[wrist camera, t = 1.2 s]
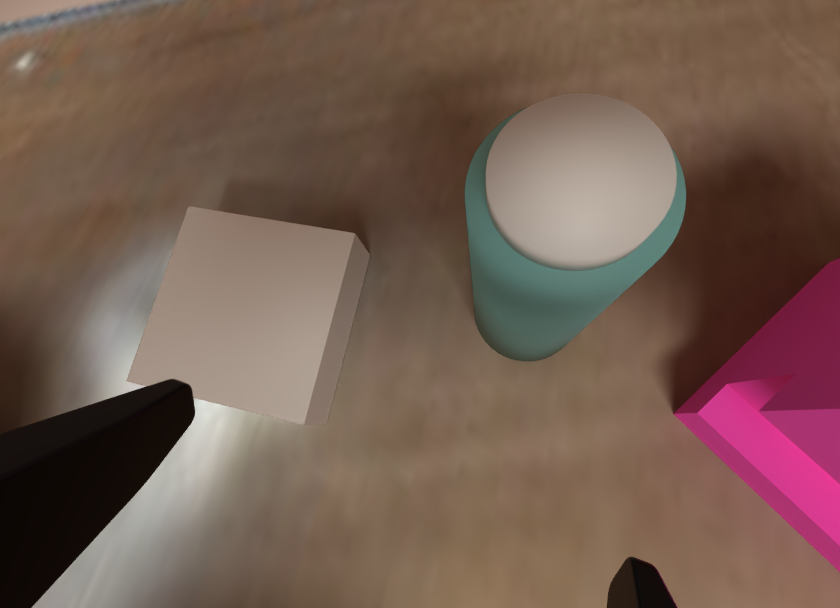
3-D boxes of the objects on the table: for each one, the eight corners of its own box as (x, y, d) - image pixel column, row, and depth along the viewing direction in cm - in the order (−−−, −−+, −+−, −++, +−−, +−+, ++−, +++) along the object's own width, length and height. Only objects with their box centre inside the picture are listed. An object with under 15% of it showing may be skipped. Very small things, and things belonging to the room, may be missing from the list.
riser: (326, 424, 23) (303, 424, 20) (168, 385, 24) (126, 381, 21) (370, 255, 25) (355, 233, 22) (221, 229, 26) (188, 206, 23)
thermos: (569, 371, 22) (690, 301, 9) (465, 350, 23) (442, 260, 10) (584, 272, 23) (712, 85, 10) (484, 255, 24) (485, 65, 11)
